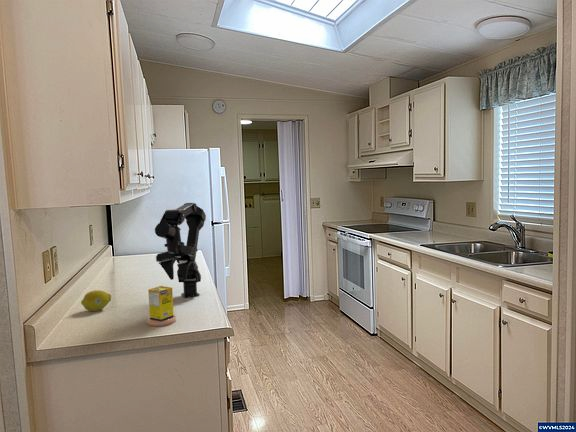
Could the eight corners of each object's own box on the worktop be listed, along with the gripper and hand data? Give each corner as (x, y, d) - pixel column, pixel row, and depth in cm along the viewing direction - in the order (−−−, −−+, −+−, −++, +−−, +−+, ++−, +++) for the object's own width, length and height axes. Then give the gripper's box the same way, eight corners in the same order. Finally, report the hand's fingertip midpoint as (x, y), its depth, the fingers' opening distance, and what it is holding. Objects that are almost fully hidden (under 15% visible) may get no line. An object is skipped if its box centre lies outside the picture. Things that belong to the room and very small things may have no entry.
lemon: (80, 315, 161) (79, 294, 160) (82, 309, 168) (81, 289, 167) (111, 311, 164) (110, 291, 164) (112, 306, 172) (111, 286, 171)
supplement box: (174, 317, 151) (172, 287, 151) (161, 322, 146) (159, 291, 145) (162, 314, 154) (161, 285, 154) (149, 319, 149) (148, 289, 149)
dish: (144, 320, 152) (143, 317, 152) (171, 315, 157) (171, 312, 157) (150, 328, 143) (150, 325, 143) (179, 323, 148) (179, 319, 148)
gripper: (178, 233, 156) (184, 274, 153) (203, 238, 174) (208, 276, 171) (152, 240, 159) (157, 281, 156) (179, 244, 177) (184, 281, 173)
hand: (178, 279), depth 164 cm, fingers open, 9 cm apart
